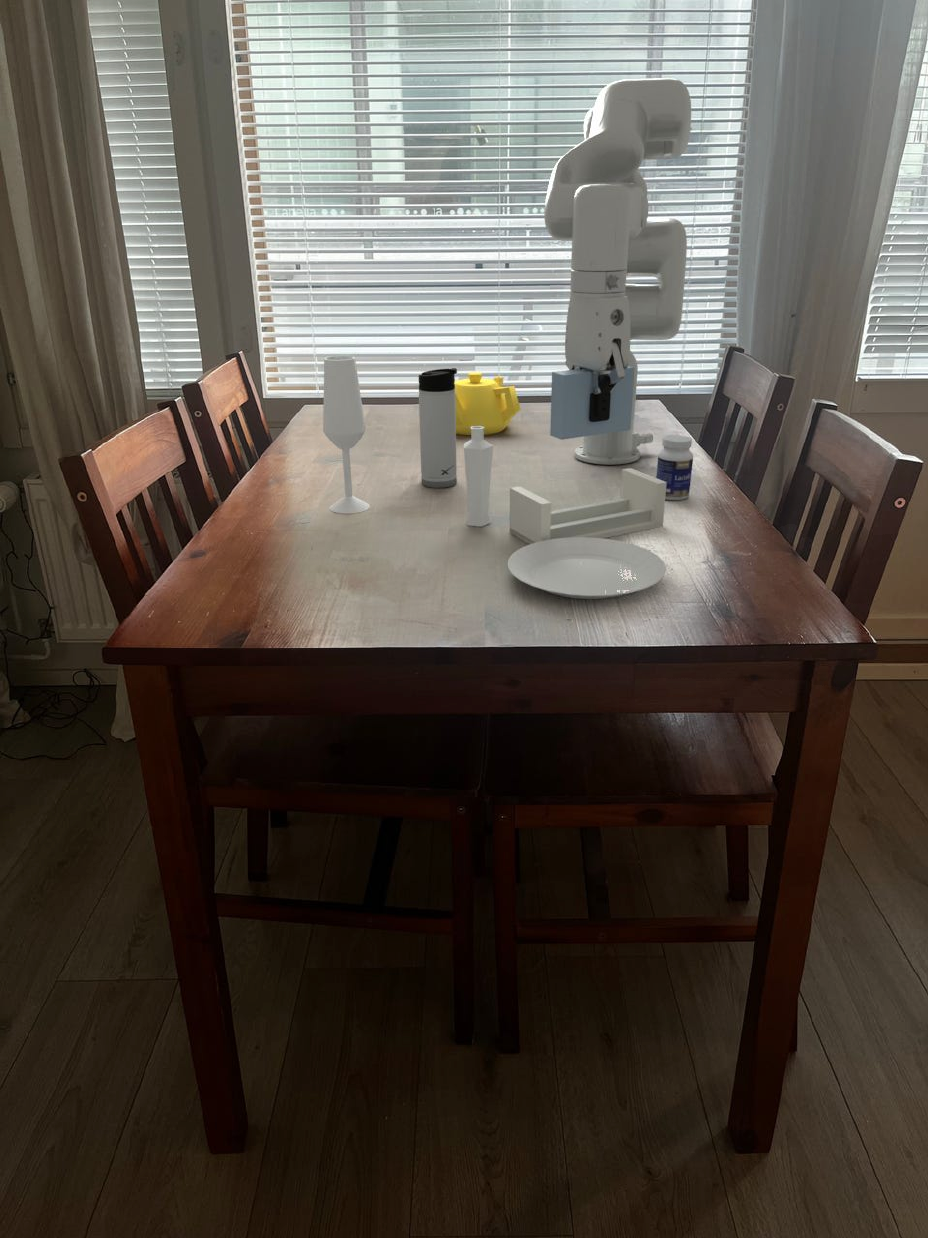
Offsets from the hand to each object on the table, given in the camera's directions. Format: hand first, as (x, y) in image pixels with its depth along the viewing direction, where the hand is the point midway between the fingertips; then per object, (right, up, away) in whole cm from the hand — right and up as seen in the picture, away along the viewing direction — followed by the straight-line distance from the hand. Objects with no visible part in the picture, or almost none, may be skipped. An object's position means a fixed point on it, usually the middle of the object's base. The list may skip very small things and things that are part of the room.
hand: (591, 416), depth 132 cm
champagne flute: (-37, -11, +18) cm, 43 cm away
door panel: (0, -2, +1) cm, 2 cm away
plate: (-2, -24, -10) cm, 26 cm away
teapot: (-16, +12, +68) cm, 71 cm away
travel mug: (-23, -5, +30) cm, 38 cm away
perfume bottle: (-16, -14, +11) cm, 24 cm away
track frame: (0, -16, +7) cm, 17 cm away
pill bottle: (+17, -9, +22) cm, 29 cm away
